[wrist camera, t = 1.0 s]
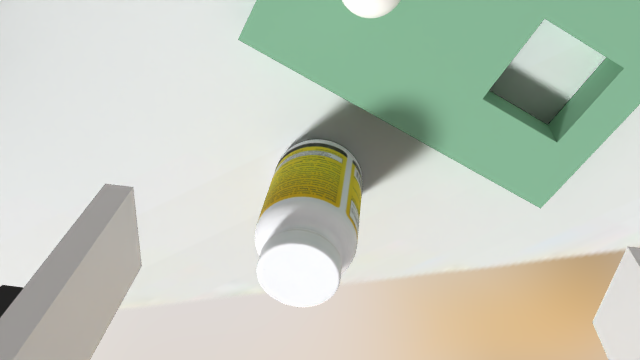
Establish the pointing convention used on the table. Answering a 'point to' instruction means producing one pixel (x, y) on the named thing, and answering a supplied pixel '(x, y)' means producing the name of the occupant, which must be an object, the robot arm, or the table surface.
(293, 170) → the pill bottle
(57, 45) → the table surface
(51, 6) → the table surface
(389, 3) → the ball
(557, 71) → the table surface
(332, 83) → the green
